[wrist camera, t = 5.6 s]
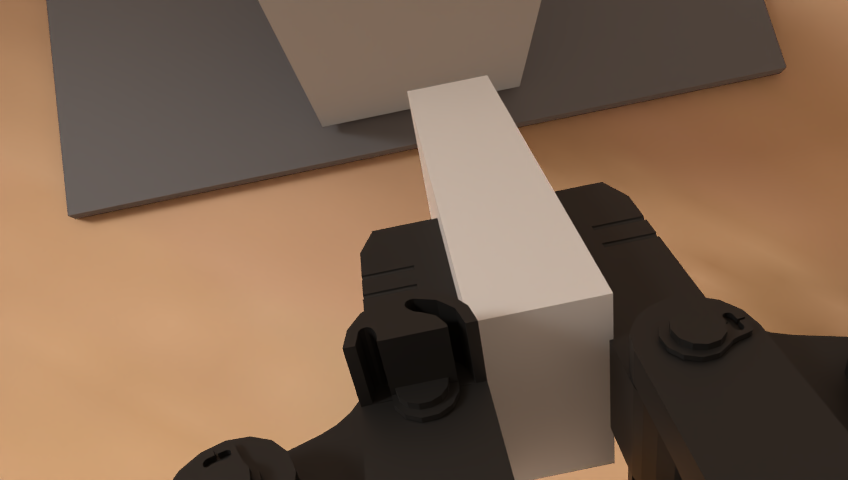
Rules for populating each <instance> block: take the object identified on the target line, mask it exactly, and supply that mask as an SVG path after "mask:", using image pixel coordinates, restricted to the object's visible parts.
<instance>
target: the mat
mask: <svg viewBox="0 0 848 480" xmlns="http://www.w3.org/2000/svg"><path fill="white" fill-rule="evenodd" d="M46 1H47V11H48V21H49V31H50V41H51V51H52V61H53V71H54V81H55V91H56V101H57V111H58V121H59V131H60V141H61V151H62V161H63V171H64V181H65V191H66V201H67V211H68V216H70V217H72V218H75V219H76V218H81V217H86V216H91V215H96V214H101V213H105V212H110V211H115V210H120V209H125V208H130V207H135V206H139V205H144V204H149V203H154V202H159V201H164V200H168V199H173V198H178V197H183V196H188V195H193V194H197V193H202V192H207V191H212V190H217V189H222V188H226V187H231V186H236V185H241V184H246V183H251V182H255V181H260V180H265V179H270V178H275V177H280V176H285V175H289V174H294V173H299V172H304V171H309V170H314V169H318V168H323V167H328V166H333V165H338V164H343V163H347V162H352V161H357V160H362V159H367V158H372V157H376V156H381V155H386V154H391V153H396V152H401V151H406V150H410V149H415V148H418V146H417V141H416V136H415V130H414V125H413V120H412V114H411V109H408V110H403V111H398V112H393V113H388V114H383V115H379V116H374V117H369V118H364V119H359V120H354V121H349V122H345V123H340V124H335V125H330V126H325V127H322V125H321V123H320V121H319V119H318V117H317V115H316V113H315V111H314V109H313V107H312V105H311V103H310V101H309V99H308V97H307V95H306V93H305V91H304V89H303V87H302V86H301V84H300V82H299V80H298V78H297V76H296V74H295V72H294V70H293V68H292V66H291V64H290V62H289V60H288V58H287V56H286V54H285V52H284V50H283V48H282V46H281V44H280V42H279V40H278V38H277V37H276V35H275V33H274V31H273V29H272V27H271V25H270V23H269V21H268V19H267V17H266V15H265V13H264V11H263V9H262V7H261V5H260V3H259V1H258V0H46ZM785 68H786V64H785V61H784V58H783V56H782V53H781V50H780V47H779V44H778V41H777V38H776V35H775V32H774V29H773V26H772V23H771V20H770V17H769V14H768V11H767V8H766V5H765V2H764V0H541V4H540V8H539V12H538V16H537V20H536V24H535V27H534V31H533V35H532V39H531V43H530V47H529V51H528V55H527V59H526V63H525V67H524V71H523V75H522V79H521V83H520V86H519V87H514V88H509V89H505V90H500V91H497V93H498V95H499V96H500V98H501V100H502V102H503V103H504V105H505V107H506V109H507V110H508V112H509V114H510V115H511V117H512V119H513V121H514V122H515V124H516V126H517V127H522V126H526V125H531V124H536V123H541V122H546V121H551V120H556V119H560V118H565V117H570V116H575V115H580V114H585V113H589V112H594V111H599V110H604V109H609V108H614V107H618V106H623V105H628V104H633V103H638V102H643V101H647V100H652V99H657V98H662V97H667V96H672V95H677V94H681V93H686V92H691V91H696V90H701V89H706V88H710V87H715V86H720V85H725V84H730V83H735V82H739V81H744V80H749V79H754V78H759V77H764V76H768V75H773V74H778V73H781V72H782V71H783V70H784V69H785Z"/></svg>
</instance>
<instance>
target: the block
mask: <svg viewBox="0 0 848 480" xmlns="http://www.w3.org/2000/svg"><path fill="white" fill-rule="evenodd" d="M258 1H259V3H260V5H261V7H262V9H263V11H264V13H265V15H266V17H267V19H268V21H269V23H270V25H271V27H272V29H273V31H274V33H275V35H276V37H277V38H278V40H279V42H280V44H281V46H282V48H283V50H284V52H285V54H286V56H287V58H288V60H289V62H290V64H291V66H292V68H293V70H294V72H295V74H296V76H297V78H298V80H299V82H300V84H301V86H302V87H303V89H304V91H305V93H306V95H307V97H308V99H309V101H310V103H311V105H312V107H313V109H314V111H315V113H316V115H317V117H318V119H319V121H320V123H321V125H322V127H325V126H330V125H335V124H340V123H345V122H349V121H354V120H359V119H364V118H369V117H374V116H379V115H383V114H388V113H393V112H398V111H403V110H408V109H410V104H409V99H408V93H407V91H411V90H416V89H421V88H426V87H431V86H436V85H441V84H446V83H451V82H456V81H461V80H466V79H471V78H476V77H480V76H485V75H487V76H488V77H489V79H490V81H491V83H492V84H493V86H494V88H495V90H496V91H500V90H505V89H509V88H514V87H519V86H520V83H521V79H522V75H523V71H524V67H525V63H526V59H527V55H528V51H529V47H530V43H531V39H532V35H533V31H534V27H535V24H536V20H537V16H538V12H539V8H540V4H541V0H258Z"/></svg>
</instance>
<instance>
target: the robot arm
mask: <svg viewBox="0 0 848 480" xmlns="http://www.w3.org/2000/svg"><path fill="white" fill-rule="evenodd" d="M407 93H408V99H409V104H410V109H411V114H412V120H413V125H414V130H415V136H416V141H417V146H418V152H419V157H420V162H421V167H422V173H423V178H424V183H425V189H426V194H427V199H428V205H429V210H430V215H431V219H430V220H425V221H420V222H415V223H411V224H406V225H401V226H396V227H391V228H386V229H381V230H376V231H372V233H371V235H370V237H369V239H368V240H367V242H366V244H365V246H364V248H363V249H362V251H361V253H360V256H361V272H362V279H363V280H362V287H363V297H364V300H363V303H364V312H362V313H361V314H360V315H359V316H358V317H357V318H356V320H355V321H354V322H353V323H352V325H351V326H350V327H349V328H348V330H347V333H346V337H345V341H344V345H343V352H344V355H345V358H346V361H347V364H348V367H349V371H350V374H351V377H352V380H353V383H354V386H355V389H356V392H357V396H358V399H359V402H358V403H357V405H356V406H355V407H354V409H353V410H352V411H351V413H350V414H348V415H347V416H346V417H345V418H344V419H343V420H342V421H341V422H340V423H338V424H337V425H336V426H334V427H333V428H331V429H329V430H328V431H326V432H324V433H323V434H321V435H319V436H317V437H315V438H313V439H311V440H309V441H307V442H305V443H303V444H301V445H299V446H297V447H295V448H293V449H291V450H289V451H286V450H285V449H283V448H282V447H280V446H279V445H278V444H276V443H275V442H274V441H272V440H267V439H261V438H256V437H245V438H239V439H233V440H228V441H224V442H222V443H220V444H218V445H216V446H214V447H212V448H210V449H207V450H205V451H203V452H201V453H200V454H199V455H197V456H196V457H195V458H194V459H193V460H191V461H190V462H189V463H188V464H187V465H185V466H184V467H183V468H182V469H181V470H179V472H178V473H177V474H176V476H175V477H174V479H173V480H534V479H539V478H543V477H548V476H553V475H558V474H563V473H568V472H573V471H577V470H582V469H587V468H592V467H597V466H602V465H606V464H611V463H614V436H615V439H616V441H617V443H618V445H619V447H620V450H621V452H622V454H623V456H624V459H625V461H626V463H627V465H628V480H848V337H836V336H806V335H788V334H779V333H771V332H767V331H765V330H764V329H763V327H762V326H761V325H760V324H759V323H758V322H757V321H755V320H754V319H753V318H752V317H751V316H749V315H748V314H747V313H746V312H745V311H743V310H742V309H739V308H737V307H735V306H732V305H730V304H728V303H725V302H723V301H721V300H716V299H710V298H706V297H705V296H704V295H703V294H702V292H701V291H700V290H699V288H698V287H697V286H696V284H695V283H694V282H693V280H692V279H691V278H690V276H689V275H688V274H687V272H686V271H685V270H684V269H683V267H682V266H681V265H680V263H679V262H678V261H677V259H676V258H675V257H674V255H673V254H672V253H671V251H670V250H669V249H668V247H667V246H666V245H665V244H664V242H663V241H662V240H661V238H660V237H657V236H656V232H655V230H654V229H653V228H652V226H651V225H650V224H649V222H648V221H647V220H644V217H643V215H642V213H641V212H640V211H639V209H638V208H637V207H636V205H635V204H634V203H633V201H632V200H631V199H630V197H629V196H627V195H625V194H624V193H622V192H620V191H618V190H616V189H614V188H612V187H610V186H609V185H607V184H605V183H603V182H600V183H595V184H590V185H585V186H580V187H575V188H570V189H565V190H561V191H556V192H554V190H553V188H552V187H551V185H550V183H549V181H548V180H547V178H546V176H545V174H544V173H543V171H542V169H541V167H540V166H539V164H538V162H537V161H536V159H535V157H534V155H533V154H532V152H531V150H530V148H529V147H528V145H527V143H526V141H525V140H524V138H523V136H522V135H521V133H520V131H519V129H518V128H517V126H516V124H515V122H514V121H513V119H512V117H511V115H510V114H509V112H508V110H507V109H506V107H505V105H504V103H503V102H502V100H501V98H500V96H499V95H498V93H497V91H496V90H495V88H494V86H493V84H492V83H491V81H490V79H489V77H488V76H487V75H485V76H480V77H476V78H471V79H466V80H461V81H456V82H451V83H446V84H441V85H436V86H431V87H426V88H421V89H416V90H411V91H407Z"/></svg>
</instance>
